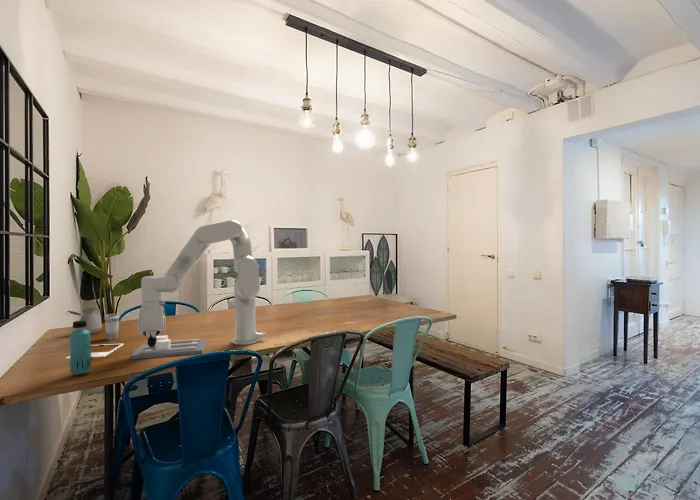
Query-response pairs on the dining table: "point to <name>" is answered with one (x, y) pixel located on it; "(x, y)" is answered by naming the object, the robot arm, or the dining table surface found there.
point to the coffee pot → (89, 320)
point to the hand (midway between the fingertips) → (152, 346)
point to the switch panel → (171, 349)
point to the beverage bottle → (80, 348)
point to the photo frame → (102, 354)
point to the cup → (111, 326)
